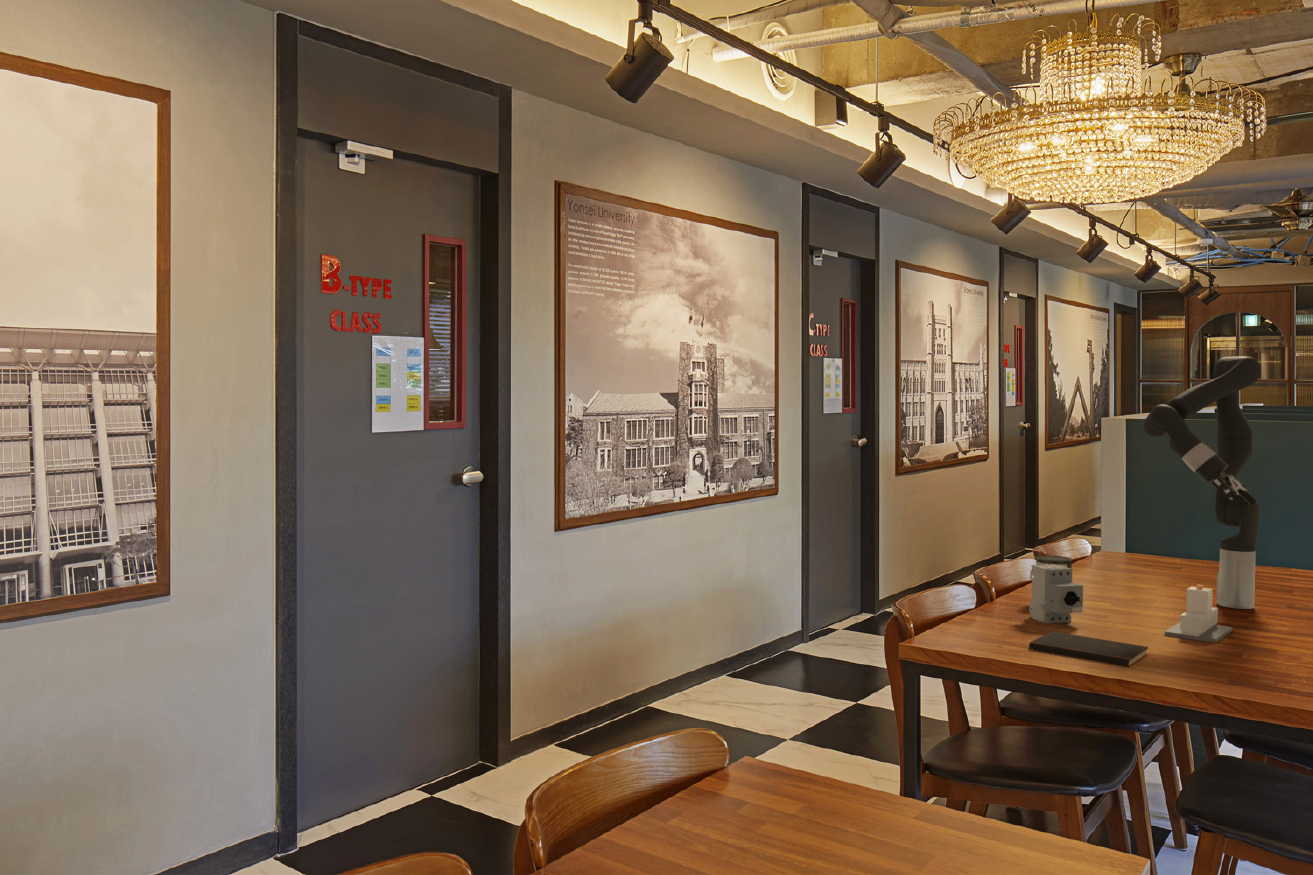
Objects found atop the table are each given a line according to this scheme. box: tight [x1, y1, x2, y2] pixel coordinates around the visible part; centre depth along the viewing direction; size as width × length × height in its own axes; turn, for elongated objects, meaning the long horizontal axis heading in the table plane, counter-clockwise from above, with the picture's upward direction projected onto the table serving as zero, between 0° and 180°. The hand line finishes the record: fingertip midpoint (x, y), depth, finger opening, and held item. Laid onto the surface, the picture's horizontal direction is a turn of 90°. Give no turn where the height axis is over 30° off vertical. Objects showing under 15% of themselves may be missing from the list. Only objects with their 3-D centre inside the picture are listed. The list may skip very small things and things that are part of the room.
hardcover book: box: [1028, 631, 1149, 668], centre depth 236 cm, size 16×23×2 cm
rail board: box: [1164, 606, 1233, 644], centre depth 256 cm, size 18×12×6 cm, turn 138°
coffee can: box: [1035, 555, 1073, 570], centre depth 292 cm, size 10×10×14 cm
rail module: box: [1185, 584, 1214, 629], centre depth 256 cm, size 5×5×11 cm
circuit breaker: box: [1028, 564, 1084, 625], centre depth 267 cm, size 8×14×15 cm, turn 15°
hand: (1250, 505), depth 264 cm, fingers open, 8 cm apart
